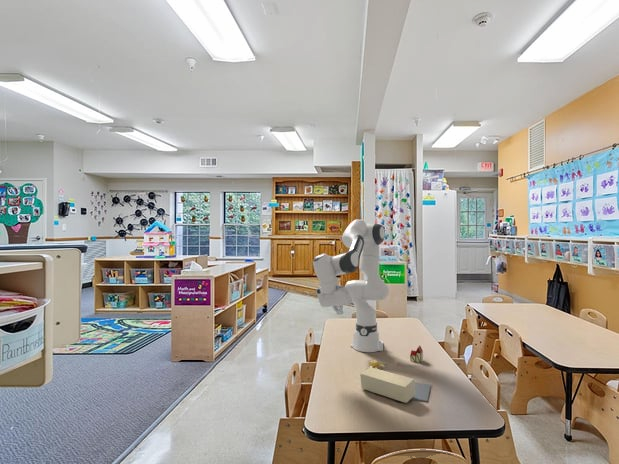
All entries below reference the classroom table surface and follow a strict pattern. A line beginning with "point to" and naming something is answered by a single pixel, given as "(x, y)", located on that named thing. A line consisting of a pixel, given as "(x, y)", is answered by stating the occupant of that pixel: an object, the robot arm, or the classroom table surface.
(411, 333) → the classroom table surface
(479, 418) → the classroom table surface
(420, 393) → the mat
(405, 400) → the toy refrigerator
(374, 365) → the character toy
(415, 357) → the toy house
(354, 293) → the robot arm
